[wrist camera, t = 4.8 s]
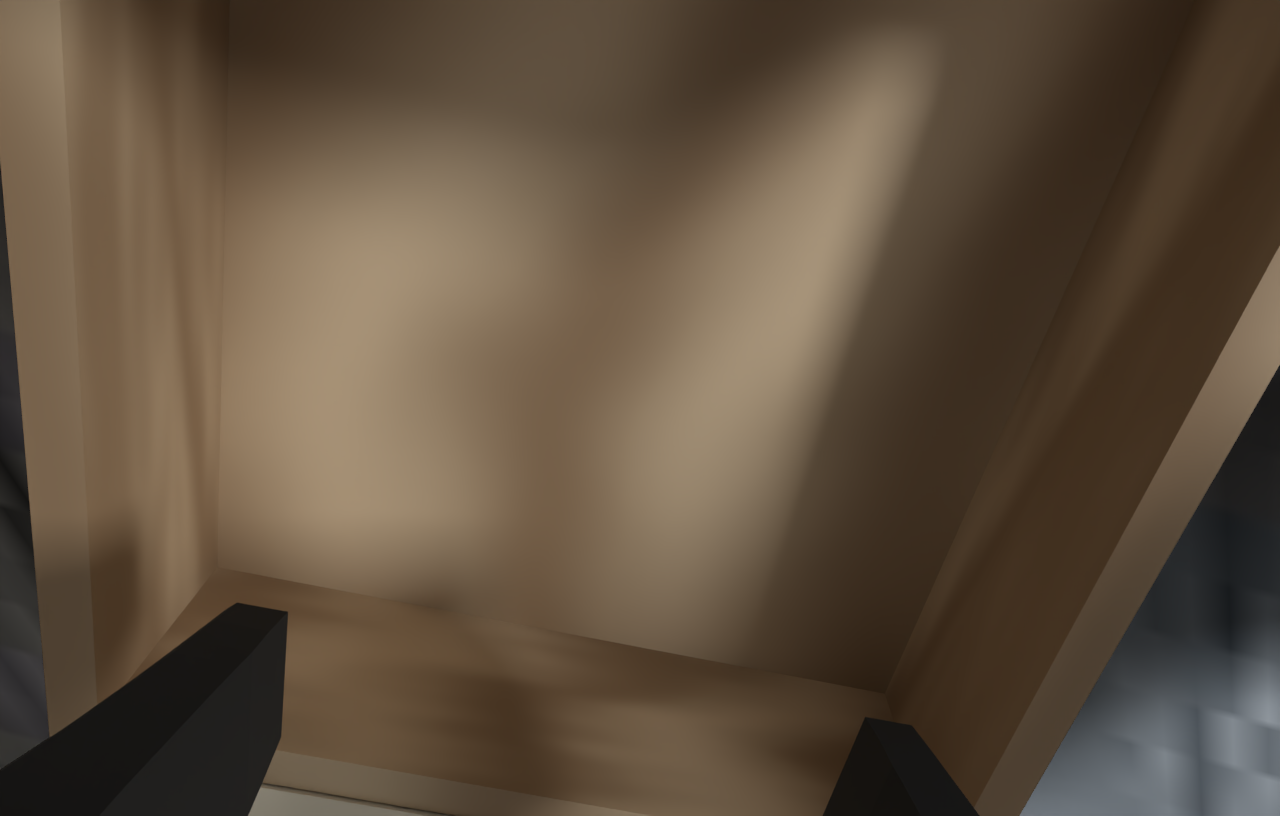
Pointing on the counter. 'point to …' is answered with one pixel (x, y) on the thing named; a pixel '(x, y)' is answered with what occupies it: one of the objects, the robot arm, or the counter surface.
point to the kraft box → (633, 369)
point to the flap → (322, 804)
